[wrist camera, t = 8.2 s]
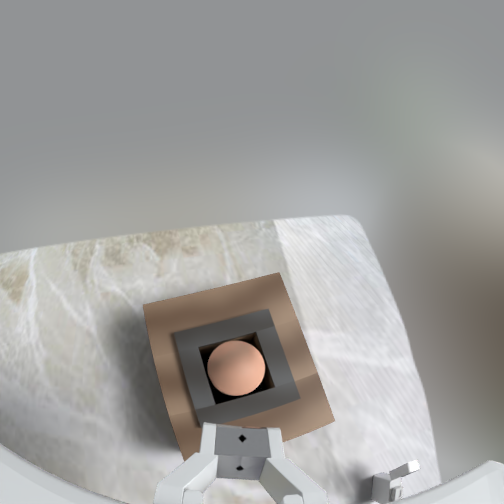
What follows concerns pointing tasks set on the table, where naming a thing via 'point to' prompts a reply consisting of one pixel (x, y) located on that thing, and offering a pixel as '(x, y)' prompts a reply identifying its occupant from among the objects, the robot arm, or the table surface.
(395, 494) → the lighter
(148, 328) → the block
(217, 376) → the peg
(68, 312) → the table surface
